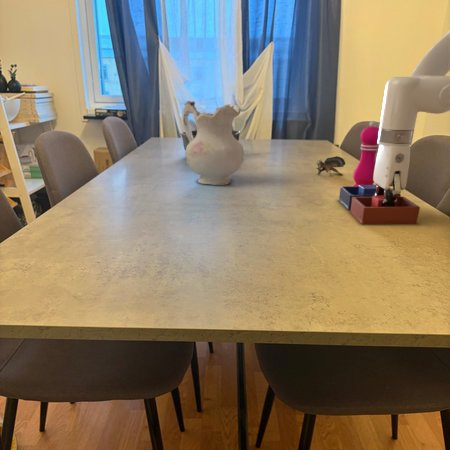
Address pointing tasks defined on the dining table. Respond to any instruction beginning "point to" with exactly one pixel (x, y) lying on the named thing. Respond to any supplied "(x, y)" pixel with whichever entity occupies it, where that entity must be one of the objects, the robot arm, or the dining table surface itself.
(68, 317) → the dining table surface
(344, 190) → the blue bin
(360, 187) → the blue block
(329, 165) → the brown insect figurine
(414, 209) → the red bin
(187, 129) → the ceramic pitcher
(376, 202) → the red block
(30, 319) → the dining table surface
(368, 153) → the pepper mill
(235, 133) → the bundt pan
